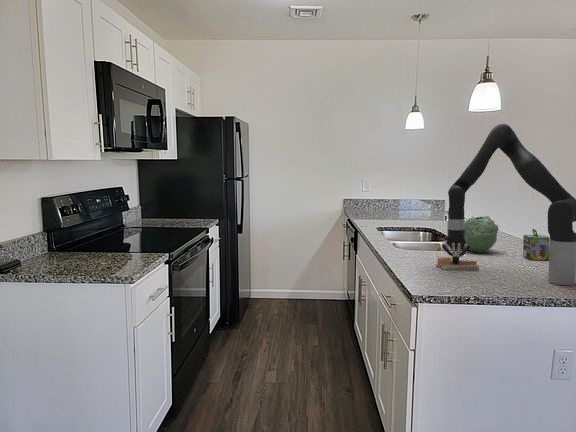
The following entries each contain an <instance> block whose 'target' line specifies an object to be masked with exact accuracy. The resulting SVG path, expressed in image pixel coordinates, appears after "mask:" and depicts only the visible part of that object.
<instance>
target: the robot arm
mask: <svg viewBox="0 0 576 432" xmlns="http://www.w3.org/2000/svg"><path fill="white" fill-rule="evenodd" d="M498 149H499V150H500V151H501V152H502V153H504V155H505V156H507V157H508V158H509V160H510V162H511V163H512V165H513V167H514V169H515V171H516V172H517V173H518V175H519V177H521V178H522V180H523V181H524V182H525V183H526V184H527V185H528V186H529V187H530V188H531V189H533V190H535V191H537V192H538V193H540V194H541V195H543V196H544V197H545V198H546V199H548V201H549V202H551V204H550V205H549V207H548V208H547V209H548V211H547V232H548V234H549V260H548V276H547V278H548V279H547V281H548V282H549V283H551V284H554V285H556V286H557V285H558V286H575V285H576V232H575V231H574V229H573V223H574V222H575V223H576V198H575V197H574V196H572V194H570V193H569V192H568V191H567V190H566V189H565V188H564V187H563V186H562V185H561V183H560V182H559V181H558V180H557V178H555V176H554V175H553V174H552V173H551V172H550V171H549V169H548V168H547V167H546V166H545V165H544V164H543V163H542V162H541V161H540V160H539V158H537V157H536V156H535V155H534V154H533V153H531V151H529V150H528V149H526V147H525V146H524V145H523V144H522V142H521V141H520V138H519V137H518V136H517V134H516V132H515V131H514V130H513V128H512V127H511V126H510V125H509V124H508V123H507V124H506V123H498V124H496V125H494V127H492V129H491V130H490V132H489V133H488V135H487V137H486V138H485V140H484V142H483V144H482V145H481V147H480V149H479V150H478V152H477V154H476V155H475V156H474V157H473V159H472V161H471V162H470V163H469V164H468V166H467V167H465V170H463V172H462V173H461V175H460V176H459V177H458V178H457V180H456V181H455V182H454V183H453V184H452V185H451V186H450V187H449V189H448V191H447V196H448V211H447V213H448V214H447V238H446V242H445V243H443V244H441V247H442V248H443V250H444V251H445V252H446V253H447V254H448V256H450V257H451V258H452V260H453V263H454V265H457V264H458V263H459V260H460V257H463V256H464V255H465V254H466V253H467V252H468V251H469V248H470V245H468V244H467V243H466V241H465V222H466V221H465V203H466V202H465V200H466V193H467V191H468V190H469V189H470V188H471V187H472V186H473V185H474V184H476V182H477V181H478V180H479V179H480V177H481V176H482V174H483V173H484V172H485V171H486V168H487V167H488V164H489V162H490V160H491V158H492V156H493V155H494V154H495V152H496V151H497V150H498ZM448 247H449V248H450V249H451V251H452V252H451V251H450V250H449V248H448ZM463 247H464V249H463ZM462 249H463V250H462ZM461 250H462V251H461Z"/></svg>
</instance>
